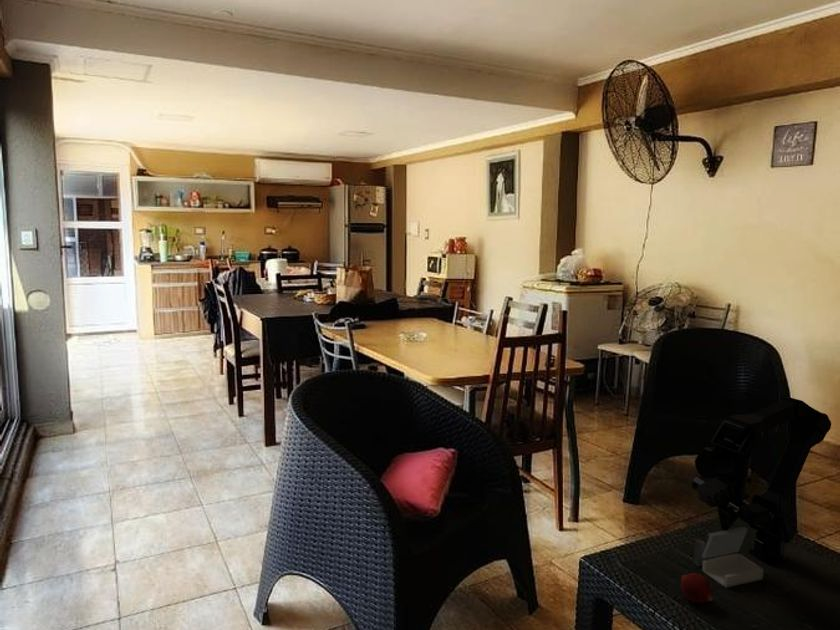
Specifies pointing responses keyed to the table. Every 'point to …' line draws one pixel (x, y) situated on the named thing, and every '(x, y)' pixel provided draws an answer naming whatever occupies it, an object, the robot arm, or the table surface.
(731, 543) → the cover
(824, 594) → the table surface
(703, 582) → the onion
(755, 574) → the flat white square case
